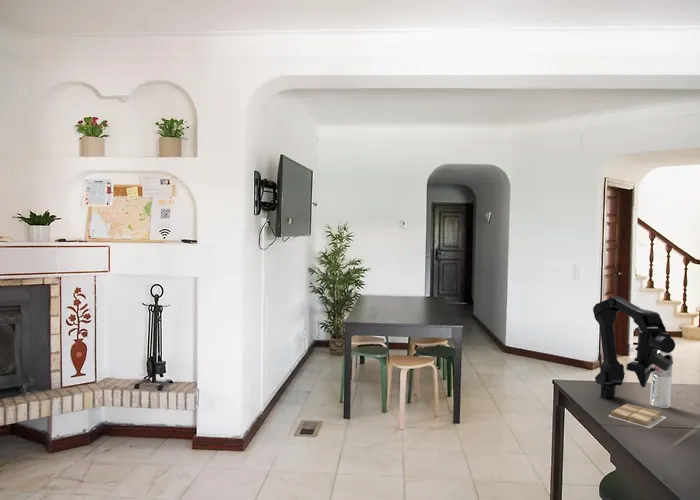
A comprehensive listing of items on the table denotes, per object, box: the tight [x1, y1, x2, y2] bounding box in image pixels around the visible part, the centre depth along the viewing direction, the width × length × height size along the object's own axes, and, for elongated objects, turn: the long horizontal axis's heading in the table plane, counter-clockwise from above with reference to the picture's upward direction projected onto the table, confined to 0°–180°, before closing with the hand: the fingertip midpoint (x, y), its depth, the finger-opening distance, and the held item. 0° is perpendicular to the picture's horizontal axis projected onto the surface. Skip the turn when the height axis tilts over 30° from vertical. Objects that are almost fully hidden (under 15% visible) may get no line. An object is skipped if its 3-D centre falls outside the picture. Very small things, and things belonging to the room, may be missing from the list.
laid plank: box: [610, 403, 643, 421], centre depth 188 cm, size 15×6×2 cm, turn 131°
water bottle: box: [649, 350, 674, 409], centre depth 199 cm, size 7×7×25 cm
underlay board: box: [608, 414, 668, 429], centre depth 185 cm, size 17×14×1 cm
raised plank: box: [628, 407, 662, 425], centre depth 184 cm, size 15×6×2 cm, turn 131°
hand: (643, 386), depth 188 cm, fingers closed
